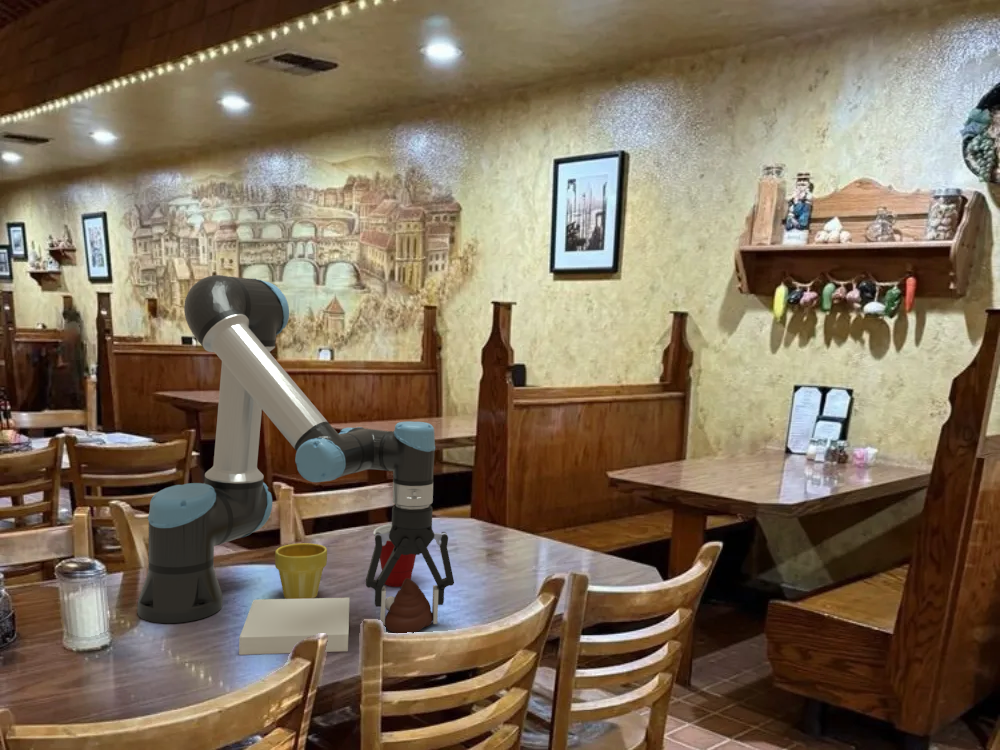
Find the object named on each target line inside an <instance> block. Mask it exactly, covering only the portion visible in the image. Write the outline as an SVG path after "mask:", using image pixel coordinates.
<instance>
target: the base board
mask: <svg viewBox="0 0 1000 750" xmlns="http://www.w3.org/2000/svg"><path fill="white" fill-rule="evenodd" d="M350 599H351V598H350V597H324V598H323V597H322V598H321V597H319V598H318V597H315V598H309V599H286V598H270V599H268V598H267V599H266V598H265V599H253V601H252V603H251V605H250V608H249V611H248V614H247V615H246V619H245V622H244V625H243V627H242V628H241V629H242V630H241V631H240V635H239V638H238V639H239V641H238V643H239V646H238V647H239V648H238V655H239V656H243V655H246V656H247V655H268V654H270V655H272V654H273V655H274V654H276V655H277V654H292V653H291V652H292V649H293V647H294V645H295V644H296V643H297V642H299V641H301V640H303V639H305V638H307V637H310V636H313V635H316V634H318V633H326V634H327V635H328V642H327V646H326V650H325V652H324V653H329V652H330V653H335V652H348V651H349V630H350V629H349V626H350V624H349V623H350Z"/></svg>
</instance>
